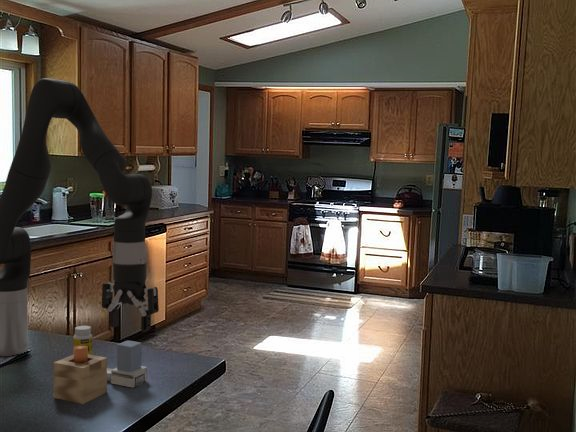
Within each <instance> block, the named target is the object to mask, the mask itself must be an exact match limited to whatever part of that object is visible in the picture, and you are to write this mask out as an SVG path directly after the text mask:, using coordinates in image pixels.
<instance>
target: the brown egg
mask: <svg viewBox="0 0 576 432" xmlns="http://www.w3.org/2000/svg"><path fill="white" fill-rule="evenodd" d="M87 361H88V347H87V346H76V347H74V362H75V363H84V362H87Z"/></svg>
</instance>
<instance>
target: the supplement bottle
mask: <svg viewBox="0 0 576 432" xmlns="http://www.w3.org/2000/svg"><path fill="white" fill-rule="evenodd" d="M91 333H92V326H90V325H79V326H76V327H75V328H74V335H73V339H72V340H73V342H72V343H73V344H72V345H73V346H72V347H73V348H72V352H73V354H72V355H74V347H76V346H87V347H88V354H90V355H93V334H91Z"/></svg>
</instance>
